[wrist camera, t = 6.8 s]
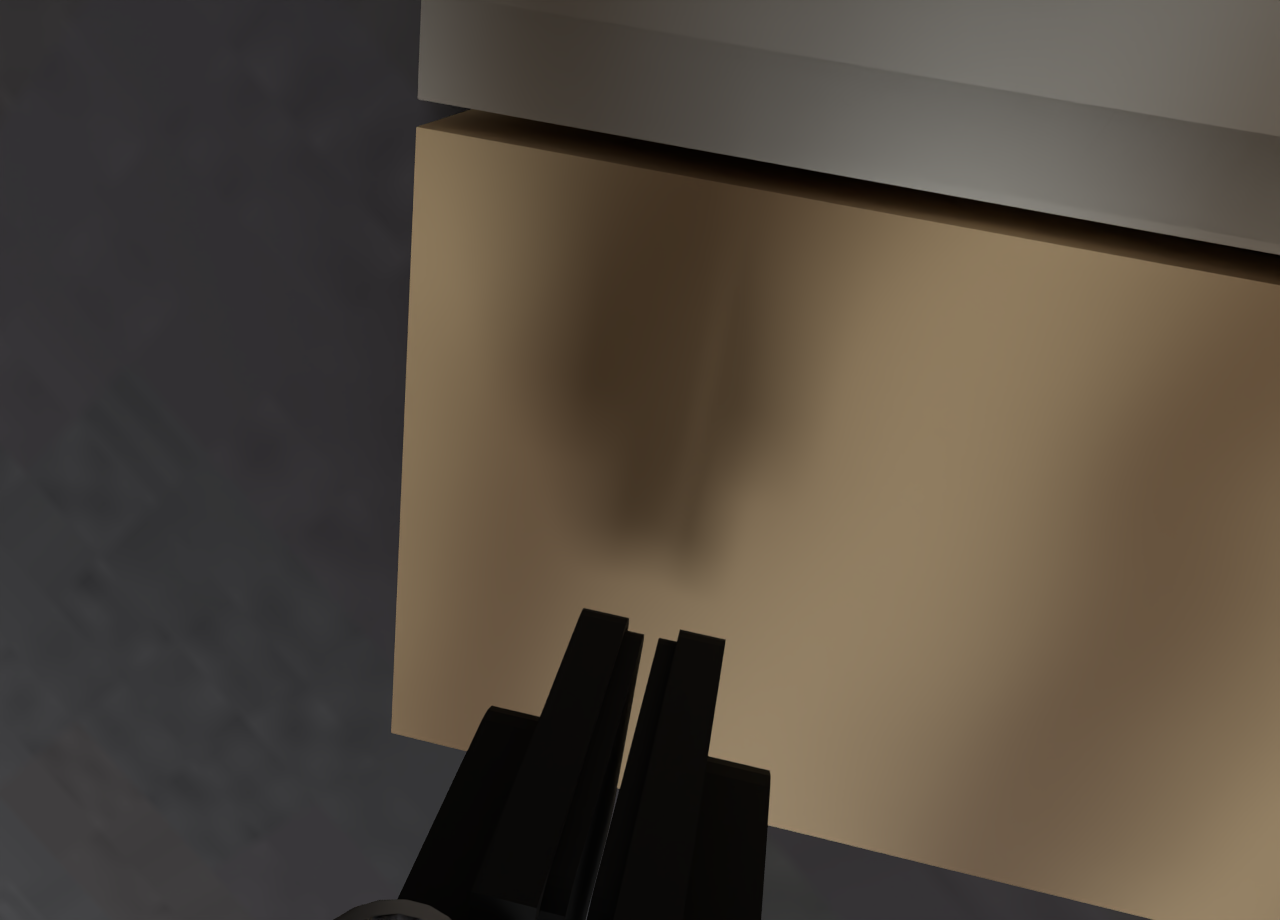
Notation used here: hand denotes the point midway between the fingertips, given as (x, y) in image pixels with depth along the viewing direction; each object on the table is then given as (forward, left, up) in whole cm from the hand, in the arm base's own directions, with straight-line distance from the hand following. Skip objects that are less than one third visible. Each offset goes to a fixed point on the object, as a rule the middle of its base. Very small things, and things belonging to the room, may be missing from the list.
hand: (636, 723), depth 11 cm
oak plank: (-6, -1, -4) cm, 8 cm away
